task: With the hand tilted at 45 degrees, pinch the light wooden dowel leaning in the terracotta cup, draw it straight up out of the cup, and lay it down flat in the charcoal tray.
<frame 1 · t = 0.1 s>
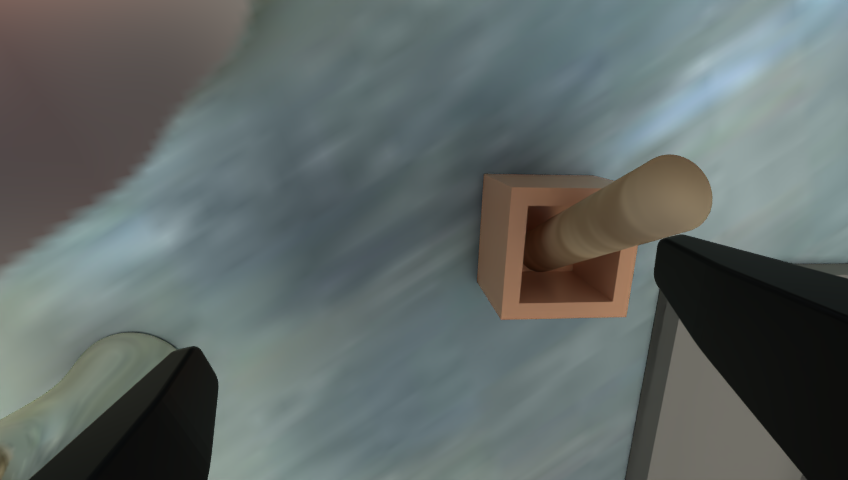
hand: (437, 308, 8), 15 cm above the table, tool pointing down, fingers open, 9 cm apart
wooden dowel: (539, 250, 24), point 1 cm above the table, touching terracotta cup
charcoal tray: (735, 404, 29), on the table
beer glass: (139, 378, 25), on the table
terracotta cup: (533, 229, 25), on the table
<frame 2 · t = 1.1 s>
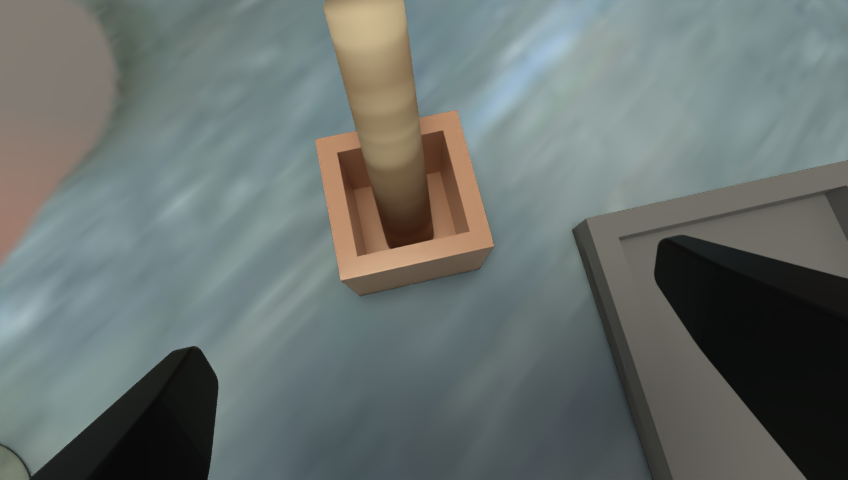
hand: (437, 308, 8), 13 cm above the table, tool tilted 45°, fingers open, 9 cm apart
wooden dowel: (409, 235, 21), point 1 cm above the table, touching terracotta cup
charcoal tray: (778, 396, 21), on the table
terracotta cup: (406, 224, 23), on the table
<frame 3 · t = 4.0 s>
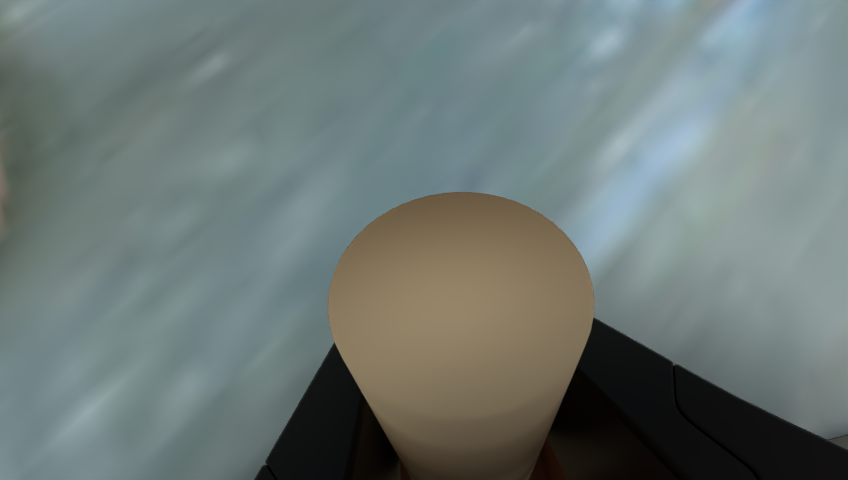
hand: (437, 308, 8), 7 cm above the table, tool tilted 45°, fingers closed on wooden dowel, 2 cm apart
terracotta cup: (461, 454, 14), on the table
when the fingers open (5 cm above the table, at t = 8.2 s): wooden dowel drops 3 cm and tips over, resting on charcoal tray.
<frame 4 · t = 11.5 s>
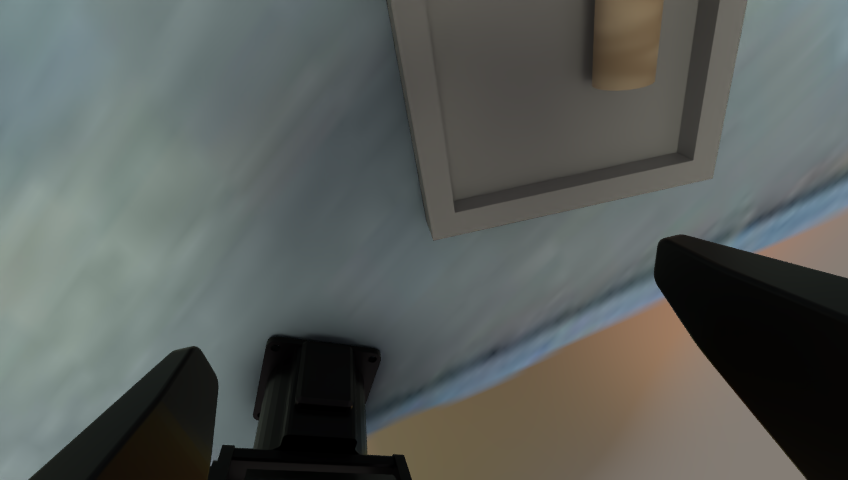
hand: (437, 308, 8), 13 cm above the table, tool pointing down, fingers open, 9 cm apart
wooden dowel: (622, 82, 18), point 2 cm above the table, tilted 91°, touching charcoal tray
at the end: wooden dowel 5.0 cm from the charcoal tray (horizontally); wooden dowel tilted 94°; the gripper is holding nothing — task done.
